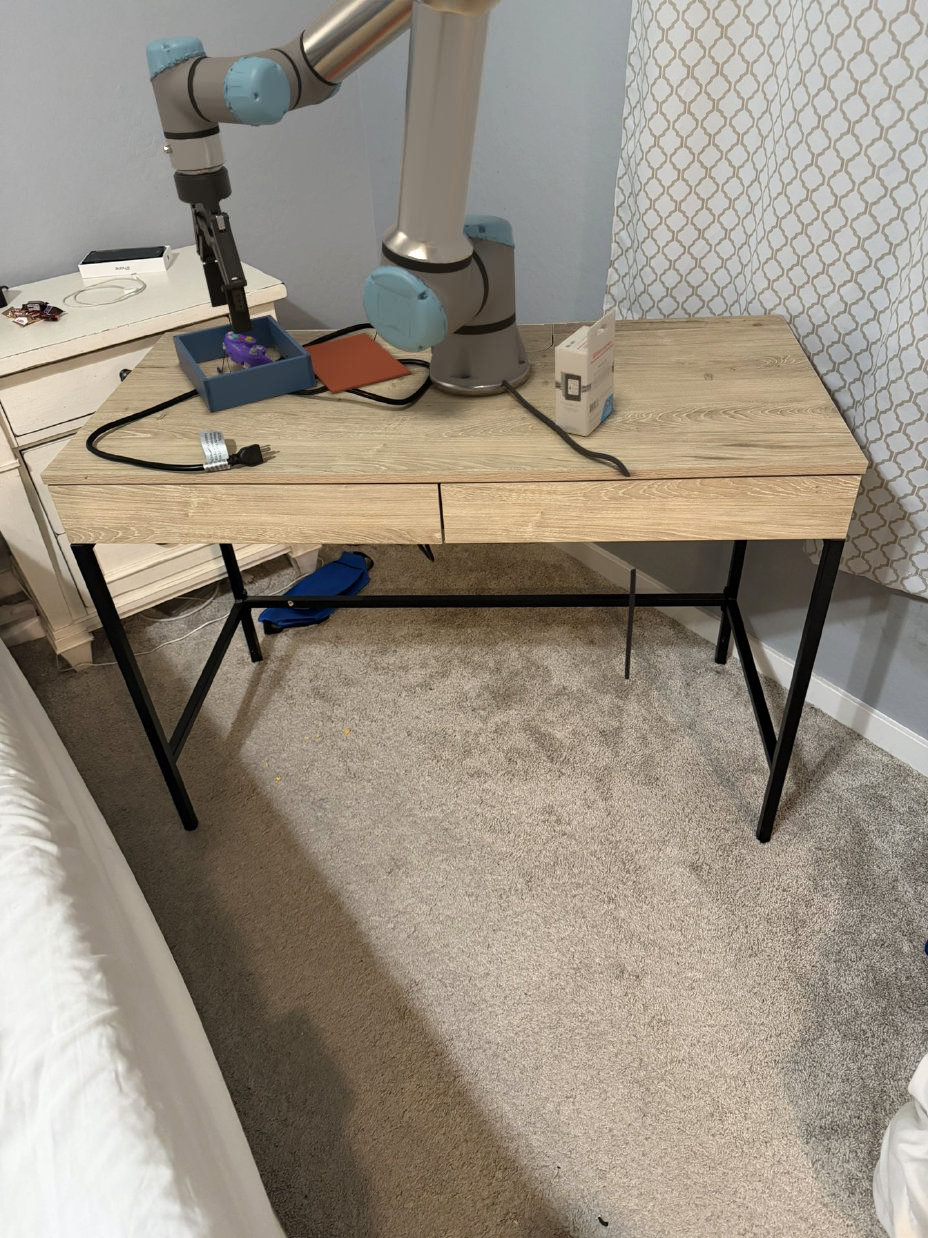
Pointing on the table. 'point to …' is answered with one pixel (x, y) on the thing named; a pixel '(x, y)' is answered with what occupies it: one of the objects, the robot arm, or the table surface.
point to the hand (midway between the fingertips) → (231, 318)
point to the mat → (353, 363)
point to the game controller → (244, 351)
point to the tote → (248, 381)
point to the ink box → (585, 377)
